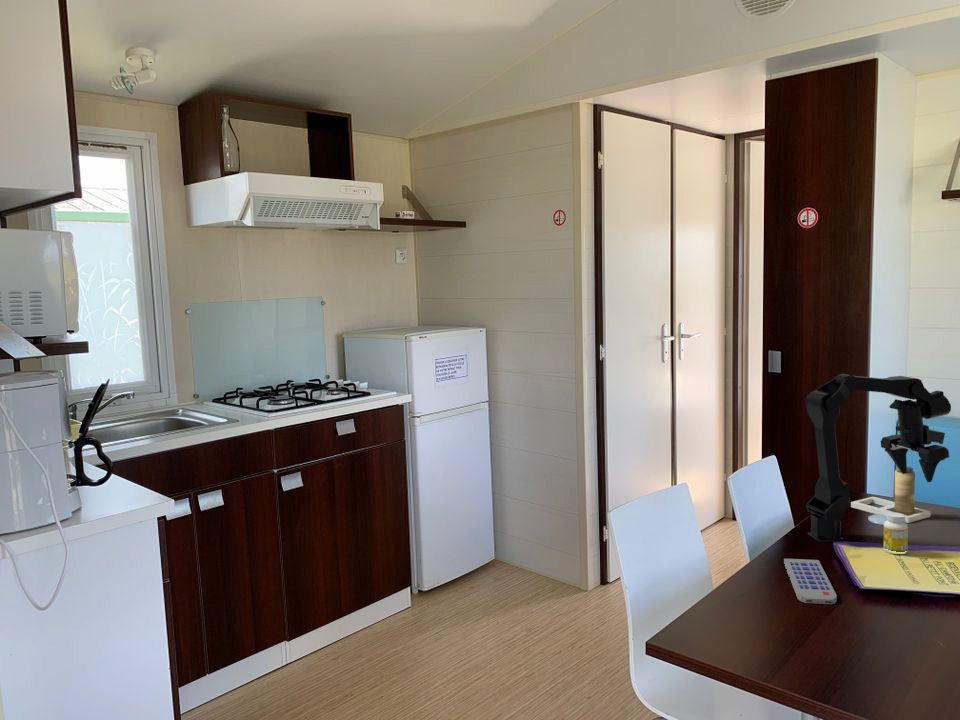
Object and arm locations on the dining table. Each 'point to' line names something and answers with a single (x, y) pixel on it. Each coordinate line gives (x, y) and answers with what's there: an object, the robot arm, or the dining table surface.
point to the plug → (905, 492)
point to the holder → (888, 508)
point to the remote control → (810, 581)
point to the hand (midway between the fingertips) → (916, 477)
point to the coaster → (878, 519)
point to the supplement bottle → (895, 532)
